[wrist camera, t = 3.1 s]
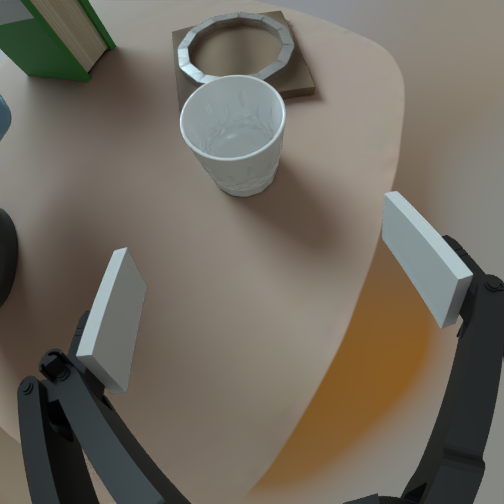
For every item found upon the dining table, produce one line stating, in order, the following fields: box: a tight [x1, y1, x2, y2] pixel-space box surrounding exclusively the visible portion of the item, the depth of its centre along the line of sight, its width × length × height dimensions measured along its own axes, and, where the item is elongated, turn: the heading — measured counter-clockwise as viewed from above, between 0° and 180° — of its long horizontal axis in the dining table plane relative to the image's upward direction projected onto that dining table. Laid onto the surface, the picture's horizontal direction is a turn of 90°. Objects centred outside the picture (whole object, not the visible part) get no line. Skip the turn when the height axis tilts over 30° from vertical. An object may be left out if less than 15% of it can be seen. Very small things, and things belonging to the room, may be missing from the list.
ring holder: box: [172, 11, 315, 114], centre depth 32 cm, size 15×15×3 cm
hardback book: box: [0, 0, 116, 83], centre depth 25 cm, size 18×7×24 cm, turn 66°
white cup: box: [180, 75, 286, 197], centre depth 26 cm, size 8×8×10 cm
